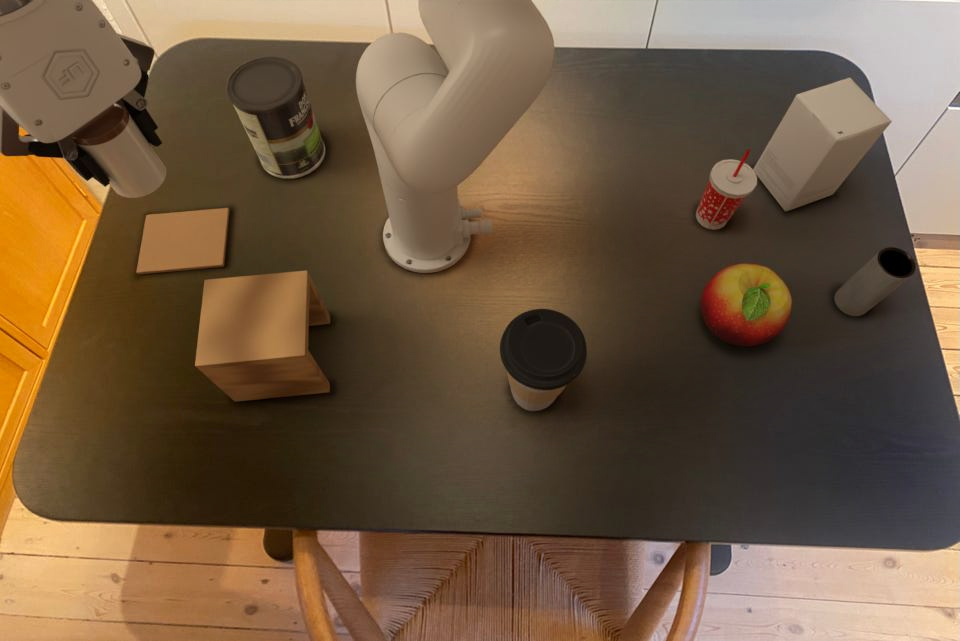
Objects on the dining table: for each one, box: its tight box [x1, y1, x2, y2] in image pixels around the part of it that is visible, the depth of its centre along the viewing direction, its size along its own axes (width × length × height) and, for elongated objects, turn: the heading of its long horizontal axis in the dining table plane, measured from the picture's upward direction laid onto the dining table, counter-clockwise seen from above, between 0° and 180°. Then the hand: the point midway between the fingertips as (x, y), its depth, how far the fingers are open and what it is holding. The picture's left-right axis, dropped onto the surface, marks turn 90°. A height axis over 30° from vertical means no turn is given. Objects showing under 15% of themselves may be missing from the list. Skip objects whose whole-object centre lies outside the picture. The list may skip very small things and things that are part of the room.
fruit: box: [699, 263, 793, 347], centre depth 77 cm, size 11×11×10 cm
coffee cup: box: [499, 308, 588, 412], centre depth 70 cm, size 9×9×15 cm
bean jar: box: [71, 99, 167, 199], centre depth 55 cm, size 5×5×8 cm
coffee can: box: [225, 56, 326, 180], centre depth 89 cm, size 10×10×14 cm
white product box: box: [752, 77, 893, 212], centre depth 85 cm, size 9×9×15 cm
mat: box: [135, 207, 231, 275], centre depth 87 cm, size 12×10×1 cm
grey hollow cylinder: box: [833, 246, 917, 317], centre depth 78 cm, size 4×4×10 cm
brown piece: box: [194, 270, 331, 403], centre depth 74 cm, size 12×11×12 cm
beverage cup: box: [695, 148, 758, 231], centre depth 83 cm, size 6×6×14 cm
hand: (123, 156), depth 57 cm, fingers closed on bean jar, 5 cm apart
